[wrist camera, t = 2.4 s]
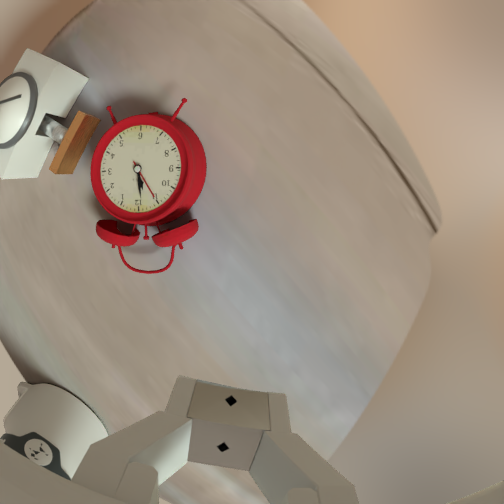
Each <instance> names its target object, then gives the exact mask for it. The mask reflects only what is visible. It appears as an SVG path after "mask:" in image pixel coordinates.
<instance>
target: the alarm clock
mask: <svg viewBox="0 0 504 504" xmlns="http://www.w3.org/2000/svg"><path fill="white" fill-rule="evenodd" d="M186 102H187V99H185V98H183V99H182V103H181V104H180V106H179V107H178V109H177V110H176V111H175V113H174V114H173V116H172V117H171V116H167V115H160V114H158V112H153V113H149V114H141V115H135V116H131V117H128V118H126V119H123V120H121V121H119V122H118V123H117V121H116V119H115V117H114V116H113V113H112V111H111V106H108V107H107V110H109V112H110V115H111V117H112V121H113V123H114V125H113V126H112V127H111V128H110V129H109V130H108V131H107V132H106V133H105V134H104V135H103V137H102V138H101V139H100V141H99V143H98V145H97V146H96V149H95V151H94V154H93V158H92V162H91V182H92V187H93V190H94V193H95V195H96V197H97V199H98V201H99V202H100V204H101V205H102V207H103V208H104V209H105V210H106V211H107V212H108V213H110V214H111V215H112V216H114V217H116V218H117V219H119V220H121V221H124V222H127V223H131V224H134V227H133V231H132V234H131V235H126V234H123V233H121V232H120V231H119V230H118V229H117V221H114V220H99V221H98V222H97V225H96V232H97V235H98V236H99V237H100V238H101V239H102V240H104V241H105V242H107V243H110V244H112V248H115V245H117V246H118V249H119V254H120V256H121V259H122V261H123V263H124V264H125V265H126V266H127V267H128V268H129V269H131V270H133V271H135V272H139V273H147V274H151V273H159V272H163V271H165V270H167V269H168V268H169V267H170V266H171V264H172V262H173V258H174V250H175V246H176V245H177V244H178V245H179V247H180V249H183V246H182V243H181V242H184V241H186V240H187V239H189V238H191V237H192V236H194V235H195V234H196V232H197V231H198V227H199V226H198V222H197V219H193V220H190V221H189V223H188V224H186V225H183V226H181V227H178V228H176V229H173V230H171V231H170V230H169V229H166V230H164V231H162V232H161V231H160V229H159V226H158V225H163V224H166V223H169V222H171V221H173V220H175V219H177V218H179V217H180V216H182V215H183V214H184V213H185V212H187V211H188V210H189V209H190V208H191V206H192V205H193V204H194V203H195V201H196V200H197V198H198V197H199V195H200V193H201V191H202V188H203V185H204V182H205V177H206V157H205V152H204V149H203V146H202V144H201V142H200V140H199V138H198V137H197V135H196V134H195V133H194V131H193V130H192V129H191V128H190V127H188V126H187V125H186V124H185V123H183V122H182V121H180V120H178V119H176V116H177V114H178V113H179V110H180V109H181V107H182V106H183V104H184V103H186ZM136 224H139V225H145V236H144V237H143V238H144V240H149V236H147V226H157V227H158V230H159V233H157V234H155V235H153V236H152V239H153V241H154V243H155V244H156V245H157V246H159V247H169V246H172V252H171V259H170V262H169V264H168V265H167V266H166V267H165V268H163V269H160V270H155V271H144V270H138V269H135V268H133V267H131V266H130V265H129V264H127V262H126V261H125V259H124V257H123V254H122V251H121V247H120V246H130V245H133V244H134V243H135V242H137V240H138V238H139V235H140V232H139V231H138V230H137V229H136V228H135V226H136ZM134 229H135V231H134ZM133 232H134V233H133Z"/></svg>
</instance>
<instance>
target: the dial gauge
mask: <svg viewBox="0 0 504 504" xmlns="http://www.w3.org/2000/svg"><path fill="white" fill-rule="evenodd" d="M88 80H89V78H87V77H85V76H83V75H81V74H80V73H78V72H76V71H74V70H72V69H71V68H69V67H67V66H65V65H63V64H61V63H60V62H58V61H55V60H53V59H51V58H49V57H47V56H44V55H42V54H40V53H38V52H35V51H33V50H31V49H28V48H27V49H26V51H25V52H24V54H23V56H22V57H21V59H20V61H19V62H18V64H17V66H16V68H15V69H14V71H13V73H12V74H11V75H10V76H8V77H7V78H6V79H4V80H3V81H2V82H1V84H0V178H1V179H16V178H36V177H38V175H39V173H40V171H41V168H42V166H43V164H44V161H45V159H46V157H47V155H48V153H49V150H50V148H51V146H52V144H53V142H54V140H53V139H52V138H51V137H49V136H48V135H46V134H45V133H43V132H42V131H40V130H39V129H38V128H39V126H40V124H41V122H42V120H43V118H44V116H45V114H46V113H49V114H52V115H56V116H60V117H63V118H66V117H67V115H68V113H69V111H70V110H71V108H72V106H73V104H74V103H75V101H76V99H77V98H78V96H79V94H80V93H81V91H82V89H83V88H84V86H85V85H86V83H87V81H88Z"/></svg>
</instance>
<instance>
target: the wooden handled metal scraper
mask: <svg viewBox="0 0 504 504" xmlns="http://www.w3.org/2000/svg"><path fill="white" fill-rule="evenodd" d="M100 121H101V120H100V119H98V118H97V117H95V116H93V115H90V114H87V113H85V112H82V111H78V112H77V114H76V116H75V118H74V120H73V121H72V123H71V125H70V127H69V129H67V128H66V127H64V126H62V125H61V124H59V123H58V122H56V121H55V120H53V119H52V118H50V117H49V116H47V115H45V116H44V118H43V120H42V122H41V124H40V126H39V128H38V129H39V130H40V131H42V132H43V133H45V134H46V135H48V136H49V137H51V138H52V139H53V140H55V141H56V142H58V143H59V144H60V146H59V149H58V151H57V153H56V155H55V157H54V159H53V161H52V163H51V166H50V168H49V170H51V171H52V172H53V173H55V174H73V171H74V169H75V167H76V165H77V163H78V161H79V159H80V157H81V155H82V153H83V151H84V150H85V148H86V146H87V144H88V142H89V140H90V138H91V137H92V135H93V133H94V131H95V129H96V128H97V126H98V124H99V122H100Z"/></svg>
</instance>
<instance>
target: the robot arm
mask: <svg viewBox="0 0 504 504" xmlns="http://www.w3.org/2000/svg"><path fill="white" fill-rule="evenodd" d="M18 394H19V399H18V400H17V402H16V403H15V404H14V405H13V407H12V408H11V409H10V410H9V412H8V413H7V415H6V416H5V417H4V419H3V421H4V427H5V431H6V434H4V435H3V436H2V437H1V438H0V504H159V487H158V486H159V485H160V484H161V483H163V482H164V481H165V480H166V479H168V478H169V477H170V476H171V475H173V474H174V473H175V472H176V471H177V470H179V469H180V468H181V467H182V466H183V465H185V464H186V463H187V461H190V462H196V463H202V464H208V465H214V466H220V467H226V468H232V469H238V470H245V471H249V473H250V475H251V476H252V478H253V479H254V481H255V482H256V484H257V485H258V487H259V488H260V490H261V491H262V493H263V494H264V495H265V497H266V498H267V500H268V501H269V503H270V504H359V501H358V498H357V494H356V491H355V487H354V485H353V484H352V483H351V482H349V481H348V480H347V479H346V478H345V477H344V476H342V475H341V474H340V473H339V472H338V471H337V470H335V469H334V468H333V467H332V466H331V465H330V464H329V463H328V462H327V461H326V460H324V459H323V458H322V457H321V456H320V455H319V454H318V453H317V452H316V451H315V450H314V449H313V448H311V447H310V446H309V445H308V444H307V443H306V442H305V441H304V440H303V439H302V438H301V437H300V436H299V435H298V434H295V433H292V432H291V425H290V418H289V411H288V404H287V397H286V395H285V394H283V393H273V392H261V391H254V390H247V389H241V388H235V387H230V386H225V385H221V384H216V383H211V382H207V381H202V380H198V379H197V380H196V379H193V378H189V377H185V376H181V375H179V376H178V378H177V380H176V383H175V385H174V388H173V391H172V393H171V396H170V399H169V401H168V404H167V407H166V410H165V412H162V411H158V412H156V413H154V414H152V415H150V416H148V417H146V418H144V419H142V420H140V421H139V422H137V423H135V424H133V425H131V426H129V427H126V428H124V429H122V430H120V431H118V432H116V433H114V434H112V435H110V436H108V434H107V432H106V430H105V428H104V426H103V424H102V423H101V421H100V420H99V419H98V418H97V416H96V415H95V414H94V413H93V412H92V411H91V410H90V409H89V408H88V407H87V406H86V405H85V404H84V403H82V402H81V401H80V400H79V399H77V398H76V397H74V396H73V395H72V394H70V393H68V392H67V391H65V390H63V389H61V388H59V387H56V386H54V385H50V384H44V383H41V384H36V385H31V384H28V383H25V382H21V383H20V384H19V385H18ZM446 504H504V480H503V481H501V482H499V483H497V484H495V485H492V486H490V487H488V488H486V489H483V490H481V491H479V492H476V493H474V494H471V495H469V496H466V497H463V498H461V499H458V500H455V501H452V502H449V503H446Z"/></svg>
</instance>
